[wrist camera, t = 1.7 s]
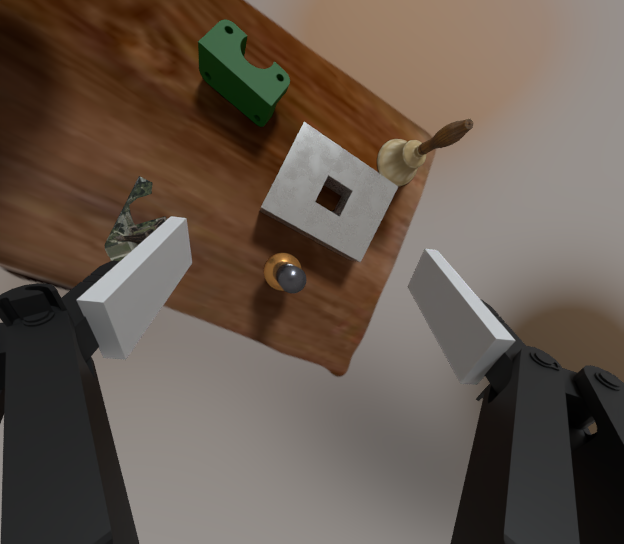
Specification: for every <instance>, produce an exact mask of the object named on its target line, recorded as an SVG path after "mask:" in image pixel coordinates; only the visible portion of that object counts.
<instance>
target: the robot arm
mask: <svg viewBox="0 0 624 544" xmlns="http://www.w3.org/2000/svg"><path fill="white" fill-rule="evenodd" d="M191 264H192V258H191V250H190V242H189V235H188V227H187V219H186V218H180V217H172V216H171V217H170V218H169V219H167V220H166V221H165V222H164V223H163V224H162V225H161V226H159V227H158V228H157V229H156V230H155V231H154V232H153V233H152V234H150V235H149V236H148V237H147V238H146V239H145V240H144V241H143V242H141V243H140V244H139V245H138V246H137V247H136V248H135V249H133V250H132V251H131V252H130V253H129V254H128V255H127V256H126V257H124V258H123V259H122V260H121V261H116V260H113V261H111V262H108V263H106V264H104V265H102V266H100V267H99V268H97V269H96V270H95V271H94V272H92V273H91V275H90V276H88V277H86V278H85V279H84V280H83V282H80V283H79V284H78V285H77V286H75V287H74V288H73V289H72V290H70V291H69V292H68V293H67V294H66V295H64V296H63V297H62V298H61V297H60V295H59V293H58V291H57V289H56V288H55V287H54V286H52V285H49V284H39V283H37V284H30V285H24V286H21V287H17V288H14V289H11V290H9V291H7V292H5V293H3V294H1V295H0V319H1V320H2V321H3V323H0V423H1V420H2V418H3V415H4V444H3V445H4V447H3V482H2V518H1V519H2V520H1V522H2V523H1V544H139V540H138V537H137V532H136V528H135V524H134V521H133V516H132V512H131V509H130V504H129V500H128V496H127V492H126V488H125V484H124V480H123V476H122V473H121V469H120V464H119V460H118V457H117V453H116V449H115V445H114V441H113V437H112V433H111V429H110V425H109V421H108V417H107V413H106V409H105V405H104V401H103V397H102V393H101V389H100V385H99V381H98V377H97V373H96V369H95V365H94V361H93V360H92V358H91V356H92V355H93V353H94V352H95V351H96V350H97V348H98V347H99V349H100V351H101V353H102V356H103V357H104V358H113V359H127V357H128V356H129V354H130V353H131V351H132V350H133V349H134V347H135V345H136V344H137V343H138V341H139V340H140V338H141V337H142V335H143V334H144V332H145V331H146V329H147V328H148V327H149V325H150V323H151V322H152V321H153V319H154V318H155V316H156V315H157V313H158V312H159V311H160V309H161V308H162V306H163V305H164V303H165V302H166V300H167V299H168V297H169V296H170V294H171V293H172V292H173V290H174V289H175V287H176V286H177V284H178V283H179V281H180V280H181V278H182V277H183V275H184V274H185V273H186V271H187V270H188V268H189V267H190V265H191ZM408 288H409V290H410V292H411V294H412V295H413V297H414V299H415V301H416V303H417V305H418V307H419V309H420V310H421V312H422V314H423V316H424V317H425V320H426V321H427V323H428V325H429V327H430V329H431V331H432V332H433V334H434V336H435V338H436V340H437V342H438V344H439V345H440V347H441V349H442V351H443V353H444V354H445V356H446V358H447V360H448V362H449V364H450V366H451V367H452V369H453V371H454V373H455V375H456V377H457V378H458V380H459V382H460V383H461V384H476V385H477V384H478V383H479V382H480V381H481V380H482V378H483V377H484V376H486V378H487V379H488V381H489V382H490V384H489V385H488V386H487V387H486V388H485V389H484V390H483V391H482V393H481V394H480V395H479V396H478V397H477V399H476V400H478V401H479V400H480V399H481V398H483V402H482V406H481V411H480V415H479V420H478V424H477V429H476V433H475V438H474V442H473V447H472V451H471V455H470V460H469V464H468V469H467V473H466V477H465V482H464V486H463V491H462V495H461V500H460V505H459V509H458V513H457V518H456V522H455V526H454V531H453V535H452V540H451V544H624V383H623V382H622V381H620V380H619V379H618V378H617V377H616V376H615V375H612V374H611V373H609V372H608V371H605V370H603V369H601V368H598V367H595V366H585V367H584V368H583V369H581V370H580V371H579V372H578V373H576V372H573V371H570V370H567V369H564V368H562V367H561V366H560V364H559V363H558V362H557V361H556V360H555V359H554V358H552V357H551V356H550V355H549V354H547V353H545V352H544V351H542V350H540V349H537V348H535V347H530V346H526V345H525V344H524V343H523V342H522V341H521V339H519V337H518V336H517V335H516V334H515V333H514V332H513V331H512V329H511V328H510V327H509V326H508V325H507V324H506V323H504V320H502V318H501V317H499V315H498V314H497V313H496V311H495V310H494V309H493V308H492V307H491V306H490V305H488V304H487V303H485V302H484V301H483V300H481V299H479V298H478V297H477V295H475V293H474V292H473V291H472V290H471V289H470V287H469V286H468V285H467V284H466V283H465V282H464V280H463V279H462V278H461V277H460V276H459V275H458V274H457V272H456V271H455V270H454V269H453V268H452V267H451V266H450V264H449V263H448V262H447V261H446V260H445V259H444V257H443V256H442V255H441V254H440V253H439V252H438V251H437V250H431V249H424V252H423V254H422V256H421V258H420V260H419V263H418V265H417V267H416V269H415V271H414V274H413V276H412V278H411V280H410V283H409V285H408ZM594 422H596V425H597V432H596V433H595V434H592V435H591V433H590V432H589V429H588V426H590V425H591V424H593V423H594Z"/></svg>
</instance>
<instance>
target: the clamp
mask: <svg viewBox="0 0 624 544" xmlns="http://www.w3.org/2000/svg"><path fill="white" fill-rule="evenodd" d="M246 41H247V35H246V34H245V33H244V32H243V31H242V30H241V29H240V28H239V27H237V26H236V25H235V24H234V23H233V22H231V21H229V20H221V21H220V22H219V23H217V24H216V25H215V26H214V27H213V28H212V29H211V30H210V31H209V32H208V33H207V34H206V35H205V36H204V37H203V38H202V39H200V40H199V41H198V48H199V71H200V74H201V76H202V77H203V79H204V80H205V81H206V82H207V83H208V84H209V85H210V86H211V87H213V88H214V89H215V90H216V91H217V92H219V93H220V94H221V95H222V96H223V97H224V98H226V99H227V100H228V101H229V102H230V103H232V104H233V105H234V106H235V107H236V108H237V109H239V110H240V111H241V112H242V113H243V114H245V115H246V116H247V117H248V118H249V119H250V120H252V121H253V122H254V123H255V124H256V125H258V126H260V127H263V126H265V124H266V123H267V122H268V121H269V119H270V118H271V117H272V115H273V112H274V109H275V107H276V104H277V102H278V101H279V100H280V99H281V98H282V96H283V95H284V94H285V93H286V91H287V89H288V86H289V83H290V78H289V76H288V74H287V73H286V72H285V71H284V70H283V69H282V68H281V67H280V66H279V65H278V64H277V63H276V62H274V64H273V65H272V66H271V67H270V68H267V69H259V68H256V67H254V66H252V65H251V64H250V63H248V62H247V61H246V59H245V58H244V54H245V48H246Z"/></svg>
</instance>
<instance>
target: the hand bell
mask: <svg viewBox="0 0 624 544" xmlns="http://www.w3.org/2000/svg"><path fill="white" fill-rule="evenodd" d="M472 127H473V121H472V120H471V119H467V120H463V121H456V122H453V123H450V124H448V125H446V126H445V127H443V128H442V129H441V130H439V131H438V132H437V133H436V134H435V136H434V137H433V138H432V139H430V140H428V141H426V142H424V143H421V142H420V141H417V140H411V141H408V142H406V141H404V140H401V139H393V140H390V141H388V142H386V143H385V144H384V145H383V146H382V148H381V149H380V151H379V154H378V158H377V166H378V171H379V173H380V174H381V175H382V176H384V177H385V178H387V179H388V180H390V181H391V182H392V183H394V184H395V185H397V186H402V185H405V184H407V183H409V182H410V181H411V180H412V179H413V177H414V176H415V174H416V171H417V168H418V167H420V166H421V165H422V164H423V163H424V161H425V159H426V154H427V153H428V152H430V151H432V150H433V149H435V148H442V147H446V146H449V145H451V144H453V143H455V142H457V141H459V140H460V139H461V138H462V137H463V136H464V135H465V134H466V133H467V132H468V131H469V130H470V129H472Z"/></svg>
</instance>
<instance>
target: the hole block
mask: <svg viewBox="0 0 624 544" xmlns="http://www.w3.org/2000/svg"><path fill="white" fill-rule="evenodd" d="M323 185H324V186H326V187H328V188H329V189H331V190H332V191H334V192H336V193H337V194H339V195H340V196H341V198H340V200H339V202H338V204H337V206H336V208H335V210H334V212H331V211H329V210H328V209H326V208H324V207H323V206H321V205H319V204H318V203H316V202H315V201H316V199H317V197H318V195H319V193H320V191H321V189H322V187H323ZM397 188H398V186H397V185H395V184H394V183H392V182H391V181H390V180H388V179H387V178H385V177H384V176H382V175H381V174H379V173H378V172H376V171H375V170H374V169H372V168H371V167H369V166H368V165H366V164H365V163H363V162H362V161H360V160H359V159H358V158H356V157H355V156H353V155H352V154H350V153H349V152H347V151H346V150H344V149H343V148H342V147H340V146H339V145H337V144H336V143H334V142H333V141H331V140H330V139H328V138H327V137H326V136H324V135H323V134H321V133H320V132H318V131H317V130H315V129H314V128H312V127H311V126H310V125H308V124H307V123H305V122H304V123H303V125H302V127H301V129H300V131H299V133H298V135H297V137H296V139H295V141H294V143H293V145H292V147H291V149H290V151H289V153H288V155H287V157H286V159H285V161H284V163H283V165H282V167H281V169H280V171H279V173H278V175H277V177H276V179H275V181H274V183H273V185H272V187H271V189H270V191H269V193H268V195H267V197H266V199H265V201H264V203H263V205H262V206H261V209H260V212H262V213H264V214H266V215H267V216H269V217H271V218H273V219H275V220H277V221H278V222H280V223H282V224H284V225H286V226H288V227H289V228H291V229H293V230H295V231H297V232H299V233H300V234H302V235H304V236H306V237H308V238H310V239H311V240H313V241H315V242H317V243H319V244H321V245H322V246H324V247H326V248H328V249H330V250H332V251H333V252H335V253H337V254H339V255H341V256H343V257H344V258H346V259H348V260H352V261H357V262H361V260H362V258H363V256H364V254H365V252H366V250H367V248H368V246H369V244H370V242H371V240H372V238H373V236H374V234H375V232H376V230H377V228H378V226H379V224H380V222H381V220H382V218H383V216H384V214H385V212H386V210H387V208H388V206H389V204H390V202H391V200H392V198H393V196H394V194H395V192H396V190H397Z"/></svg>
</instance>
